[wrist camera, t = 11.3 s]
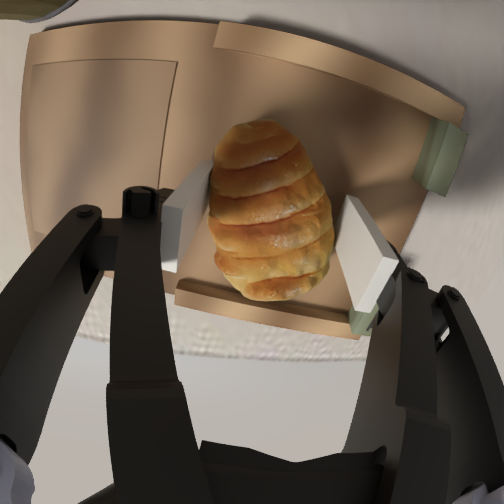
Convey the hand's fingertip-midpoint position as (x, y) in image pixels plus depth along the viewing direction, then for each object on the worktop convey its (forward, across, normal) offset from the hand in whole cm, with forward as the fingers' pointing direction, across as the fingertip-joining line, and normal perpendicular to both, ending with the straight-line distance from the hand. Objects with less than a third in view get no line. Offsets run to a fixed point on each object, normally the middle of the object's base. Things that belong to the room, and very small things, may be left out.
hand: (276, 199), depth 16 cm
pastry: (+1, 0, -1) cm, 1 cm away
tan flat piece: (+2, -5, 0) cm, 5 cm away
